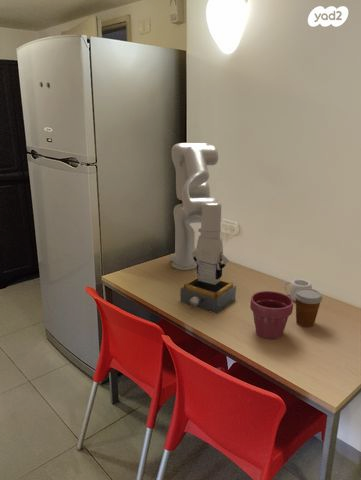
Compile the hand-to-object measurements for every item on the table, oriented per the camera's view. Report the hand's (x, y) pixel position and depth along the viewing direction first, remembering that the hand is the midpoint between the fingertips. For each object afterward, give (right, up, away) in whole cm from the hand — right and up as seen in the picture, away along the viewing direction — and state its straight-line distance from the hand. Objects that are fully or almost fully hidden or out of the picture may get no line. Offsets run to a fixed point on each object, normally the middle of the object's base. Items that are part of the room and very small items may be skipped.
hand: (209, 275), depth 157 cm
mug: (+37, -10, +7) cm, 39 cm away
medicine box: (0, -3, +1) cm, 3 cm away
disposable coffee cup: (+34, -16, -13) cm, 40 cm away
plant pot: (+20, -18, -19) cm, 33 cm away
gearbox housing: (-1, -11, +2) cm, 11 cm away
